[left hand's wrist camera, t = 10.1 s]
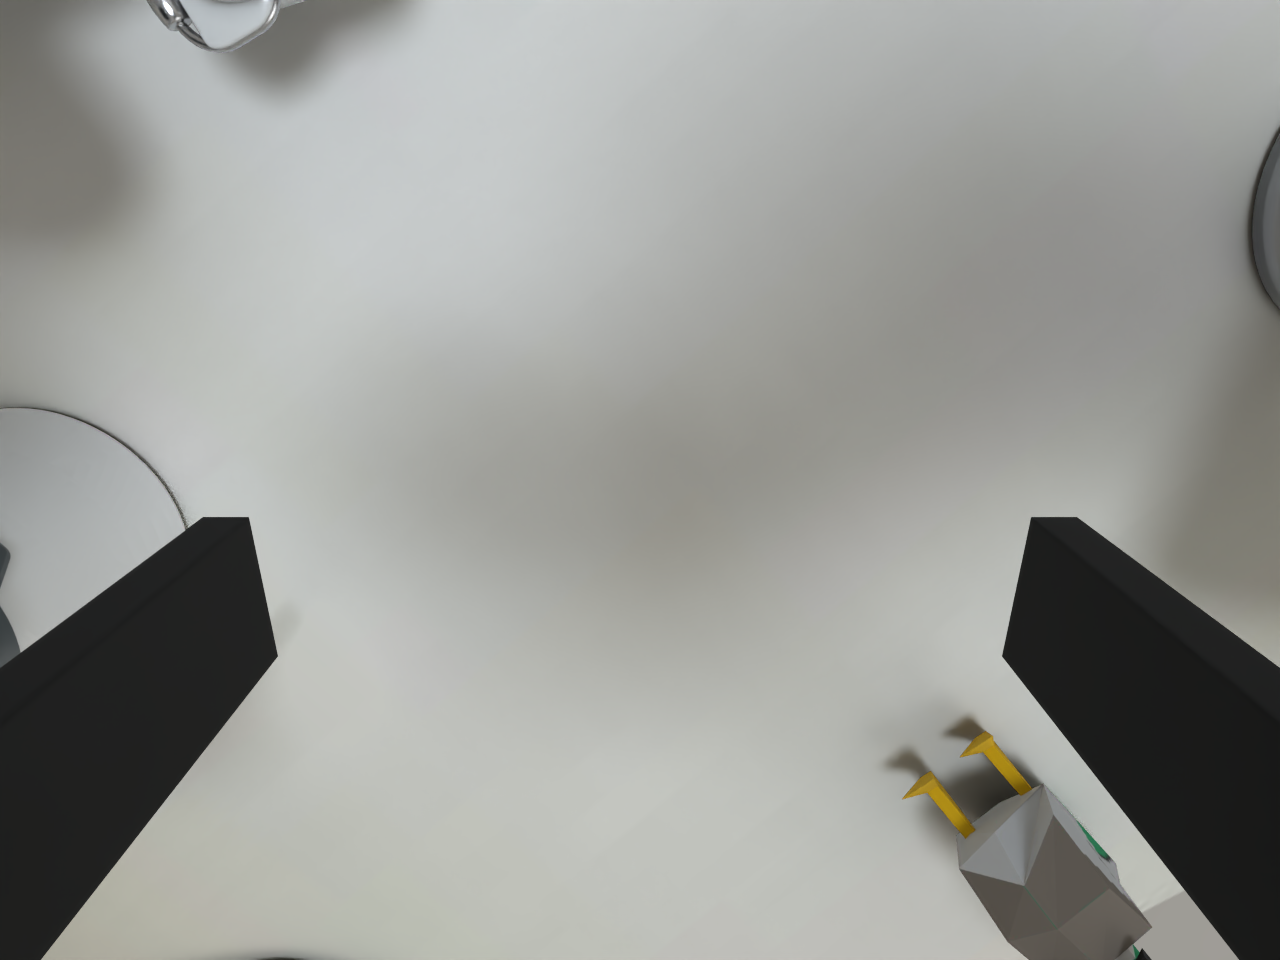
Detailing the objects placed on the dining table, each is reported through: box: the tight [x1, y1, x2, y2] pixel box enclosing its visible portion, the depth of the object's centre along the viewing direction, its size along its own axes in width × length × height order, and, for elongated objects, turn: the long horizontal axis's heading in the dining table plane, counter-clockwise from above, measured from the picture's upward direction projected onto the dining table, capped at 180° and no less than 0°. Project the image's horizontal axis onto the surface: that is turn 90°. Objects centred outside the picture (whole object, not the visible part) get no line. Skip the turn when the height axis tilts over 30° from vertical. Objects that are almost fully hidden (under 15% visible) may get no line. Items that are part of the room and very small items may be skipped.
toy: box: [902, 731, 1152, 960], centre depth 44 cm, size 6×17×20 cm
